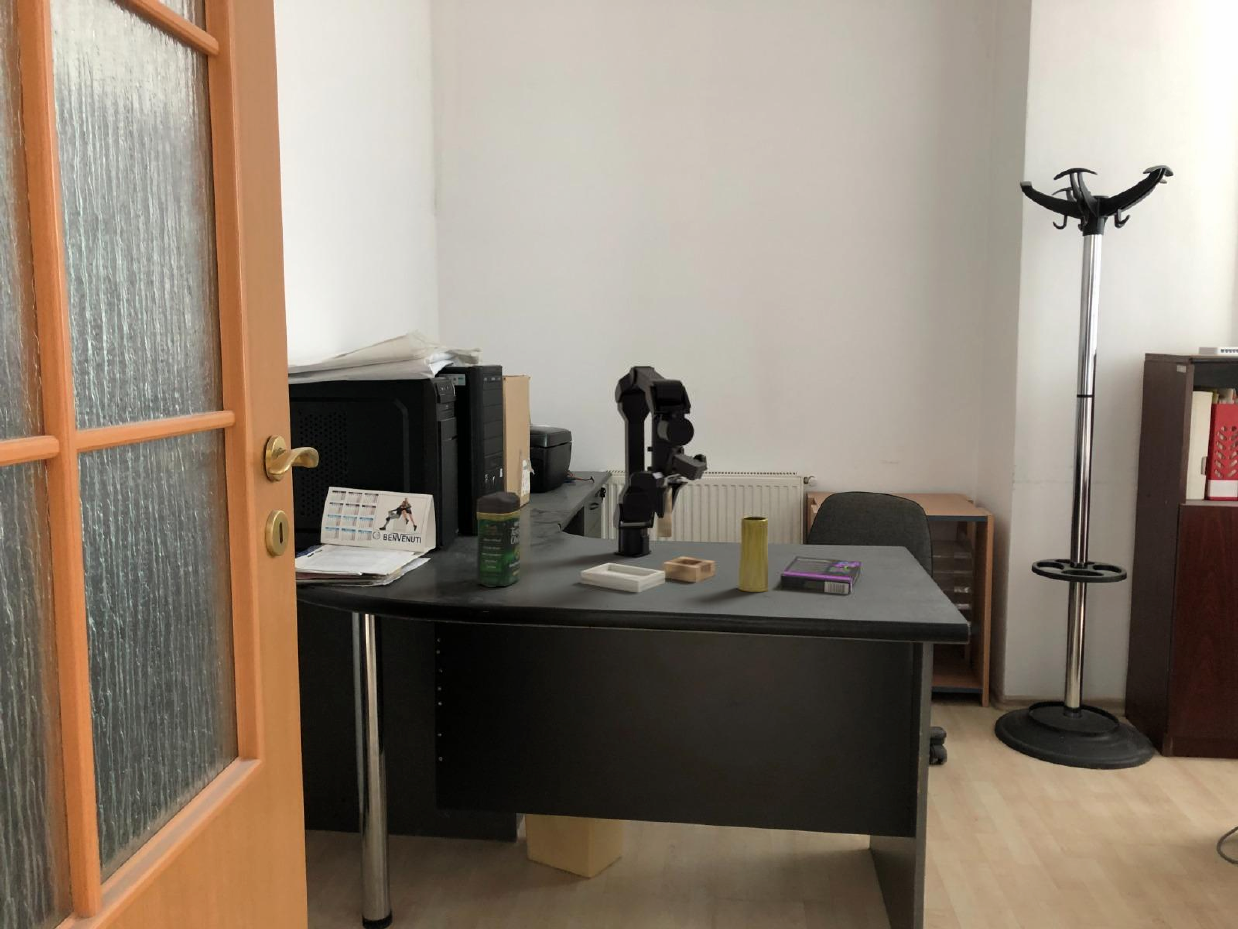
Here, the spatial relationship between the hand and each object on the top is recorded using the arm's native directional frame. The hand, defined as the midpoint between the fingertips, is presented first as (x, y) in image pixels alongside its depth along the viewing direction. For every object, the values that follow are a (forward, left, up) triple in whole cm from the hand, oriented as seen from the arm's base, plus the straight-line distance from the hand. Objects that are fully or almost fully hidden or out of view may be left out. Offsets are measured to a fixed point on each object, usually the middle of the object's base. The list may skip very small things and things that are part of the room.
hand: (664, 516), depth 204 cm
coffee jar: (-26, -22, -13) cm, 37 cm away
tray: (-5, -8, -13) cm, 16 cm away
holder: (+3, +5, -13) cm, 14 cm away
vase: (+19, +3, -13) cm, 23 cm away
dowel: (0, 0, -4) cm, 4 cm away
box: (+27, +18, -14) cm, 36 cm away
